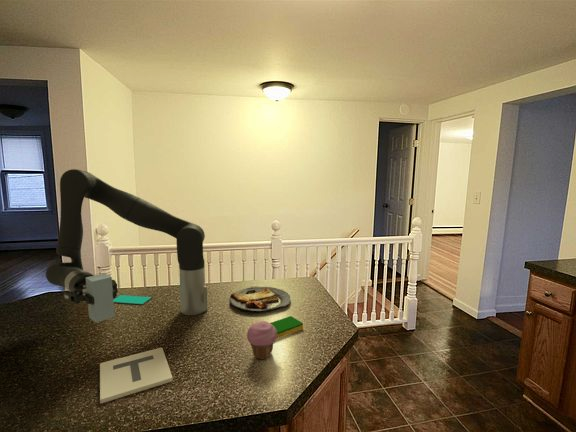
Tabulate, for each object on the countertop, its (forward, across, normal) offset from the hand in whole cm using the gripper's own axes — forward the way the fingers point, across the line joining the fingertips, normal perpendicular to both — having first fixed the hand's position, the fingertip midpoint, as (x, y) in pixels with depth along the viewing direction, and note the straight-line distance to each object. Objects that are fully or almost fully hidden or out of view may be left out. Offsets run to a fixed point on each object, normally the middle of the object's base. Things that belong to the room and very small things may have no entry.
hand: (103, 297), depth 89 cm
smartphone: (-35, +22, +19) cm, 46 cm away
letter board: (+14, +1, +18) cm, 22 cm away
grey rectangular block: (-3, 0, +6) cm, 7 cm away
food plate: (+6, +56, +18) cm, 60 cm away
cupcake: (+33, +29, +18) cm, 48 cm away
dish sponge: (+28, +44, +19) cm, 55 cm away
